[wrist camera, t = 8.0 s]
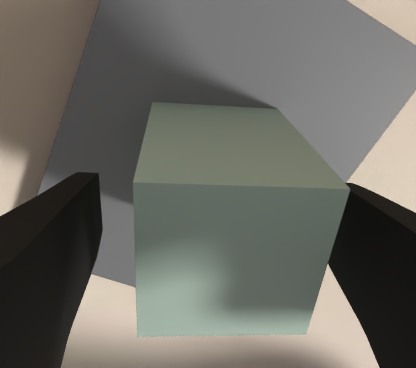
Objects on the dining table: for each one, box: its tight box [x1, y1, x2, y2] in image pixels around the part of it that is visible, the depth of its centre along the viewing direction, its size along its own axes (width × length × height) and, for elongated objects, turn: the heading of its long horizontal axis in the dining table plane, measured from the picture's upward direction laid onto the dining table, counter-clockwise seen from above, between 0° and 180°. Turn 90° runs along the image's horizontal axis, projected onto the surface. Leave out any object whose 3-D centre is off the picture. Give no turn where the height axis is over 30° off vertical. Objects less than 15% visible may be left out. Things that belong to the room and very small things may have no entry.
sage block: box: [133, 102, 350, 337], centre depth 11 cm, size 4×4×6 cm
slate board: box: [37, 0, 416, 287], centre depth 14 cm, size 14×11×1 cm
